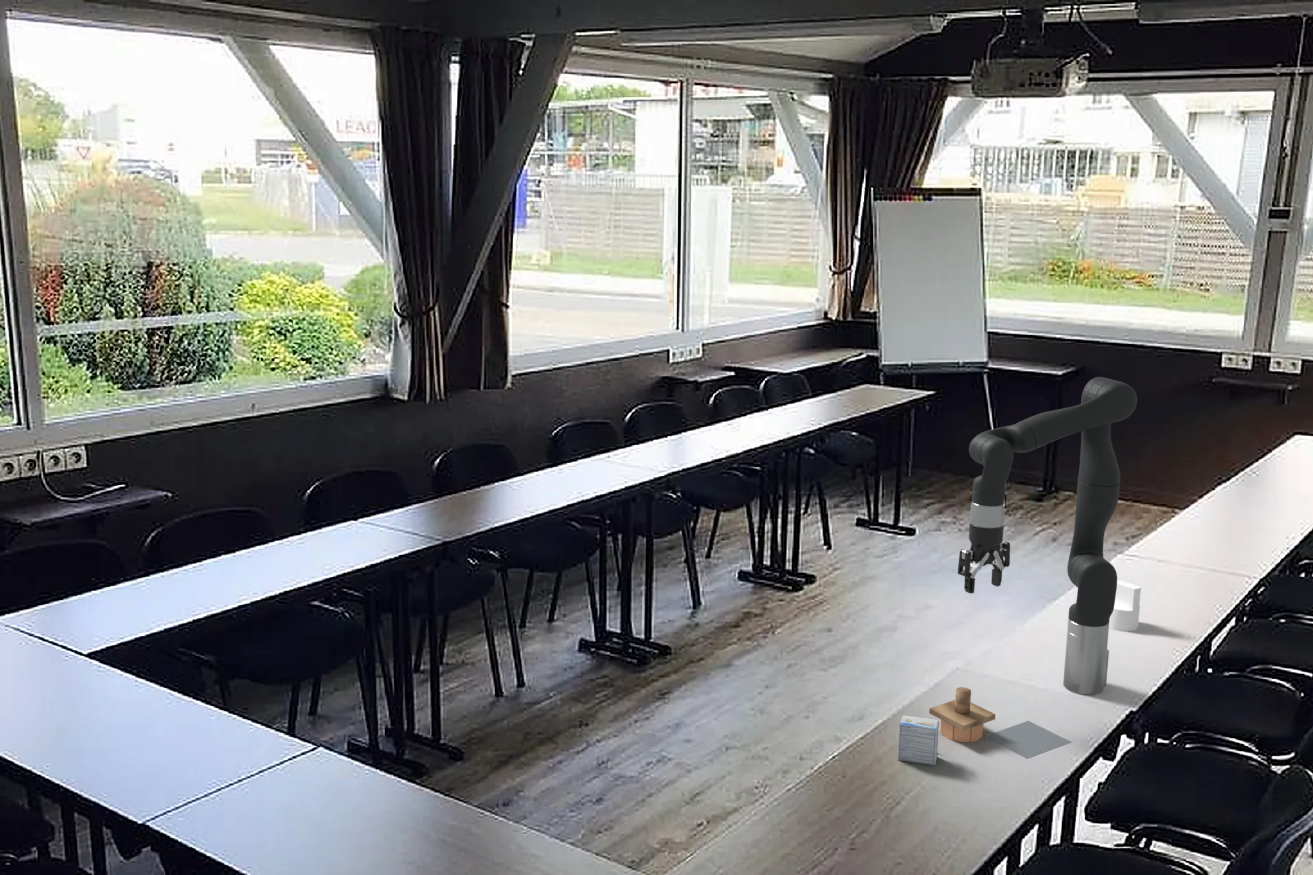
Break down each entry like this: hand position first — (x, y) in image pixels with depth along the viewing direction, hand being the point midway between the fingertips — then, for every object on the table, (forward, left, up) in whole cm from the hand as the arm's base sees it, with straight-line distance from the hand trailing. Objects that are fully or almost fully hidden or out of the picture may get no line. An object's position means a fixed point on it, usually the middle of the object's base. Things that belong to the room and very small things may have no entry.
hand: (982, 589), depth 274 cm
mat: (+5, +20, -28) cm, 35 cm away
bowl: (+15, +10, -28) cm, 34 cm away
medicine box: (+31, +13, -28) cm, 44 cm away
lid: (+15, +10, -24) cm, 30 cm away
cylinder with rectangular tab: (-69, -13, -28) cm, 76 cm away
